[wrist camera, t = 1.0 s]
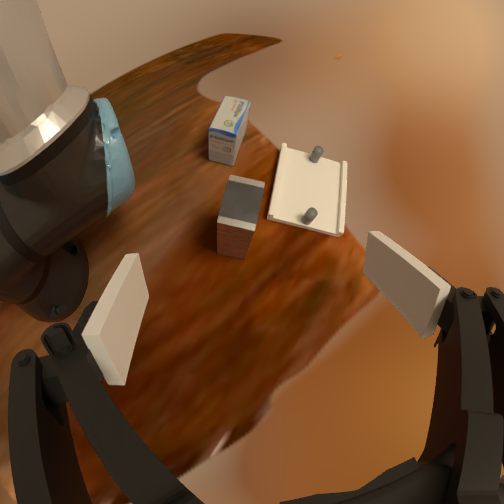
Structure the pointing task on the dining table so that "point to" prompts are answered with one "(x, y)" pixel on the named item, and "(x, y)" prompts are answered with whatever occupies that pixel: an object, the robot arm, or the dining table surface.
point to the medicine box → (228, 130)
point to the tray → (309, 191)
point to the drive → (238, 216)
